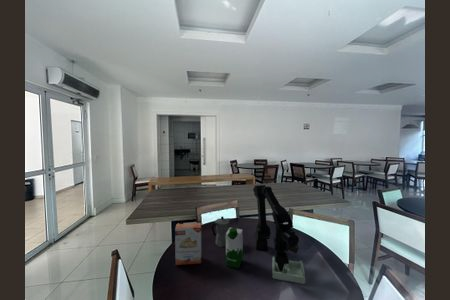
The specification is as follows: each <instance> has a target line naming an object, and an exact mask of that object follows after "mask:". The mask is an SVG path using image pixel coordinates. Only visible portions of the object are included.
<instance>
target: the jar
mask: <svg viewBox="0 0 450 300" xmlns="http://www.w3.org/2000/svg"><path fill="white" fill-rule="evenodd" d="M275 270H276V272H282V273H285V264H284V267H283V270H282V271H280V270H279V268H278V265H277V263H276V269H275Z"/></svg>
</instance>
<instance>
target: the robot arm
mask: <svg viewBox="0 0 450 300" xmlns="http://www.w3.org/2000/svg"><path fill="white" fill-rule="evenodd" d="M252 189H253V190H252V191H253V194H254V197H255V198H256V203H257V204H256V205H257V219H258V221H257V222H258V223H257V225H256V226H255V232H254V233H253V238H254V239H255V241H256V247H255V249H256V250H257V251H262V252H267V250H268V244H269V243H268V242H269V241H268V240H270V238H271V235H272V234H271V233H272V232H271V227H270V226H269V225H268V224H267V212H266V211H267V209H266V201H267V203H268V205H269V206H270V208H271V211H272V213H271V216H272V220H273V224H274V225H275V227H274V228H275V231H274V232H275V233H274V237H273V238H274V239H273V243H274V244H273V245H274V249H275V251H276V252H275V253H274V258H275V262H276V263H277V265H278V268H279V270H280V271H282V270H283V267H284V264H289V261H290V258H289V255H288V253H286V252H291V253H294V254H296V255H297V254H298V252H299V249H300V246H299V241H300V239H299V236H298V235H297V234H296V231H294V230H292V228H294V223H293V221H292V219H291V218H292V217H291V216H290V214H289V212H288V210H287V209H286V208H285V207H283V206H282V205H281V204H280V203H279V201H278V199H277V197H276V195H275V194H274V192H273V188H272V186H266V185H265V184H258V185H255V186H254V187H253V188H252Z"/></svg>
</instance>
